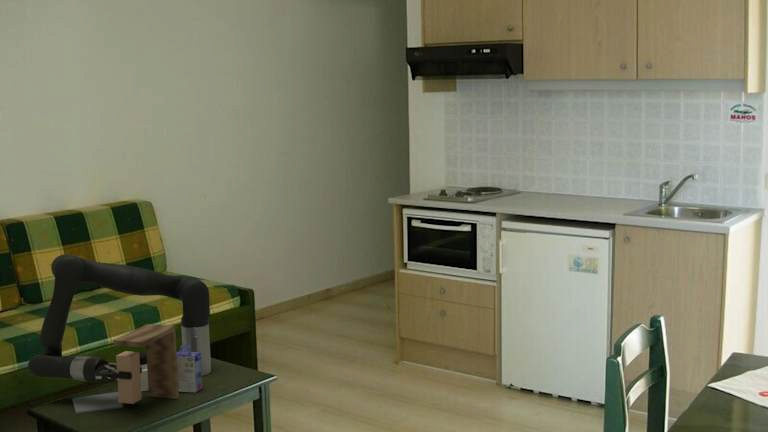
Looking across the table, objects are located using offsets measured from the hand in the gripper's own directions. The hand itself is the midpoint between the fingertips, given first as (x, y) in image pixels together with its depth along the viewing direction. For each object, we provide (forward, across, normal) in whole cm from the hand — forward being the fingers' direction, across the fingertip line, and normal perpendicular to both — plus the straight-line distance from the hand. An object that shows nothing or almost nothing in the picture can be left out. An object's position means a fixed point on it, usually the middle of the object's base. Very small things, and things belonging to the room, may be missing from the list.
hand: (136, 373), depth 284 cm
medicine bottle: (-9, +16, +11) cm, 21 cm away
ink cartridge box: (+7, +18, +11) cm, 22 cm away
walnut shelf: (+3, +1, +11) cm, 11 cm away
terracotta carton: (-3, 0, +9) cm, 9 cm away
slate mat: (-14, 0, +11) cm, 18 cm away
